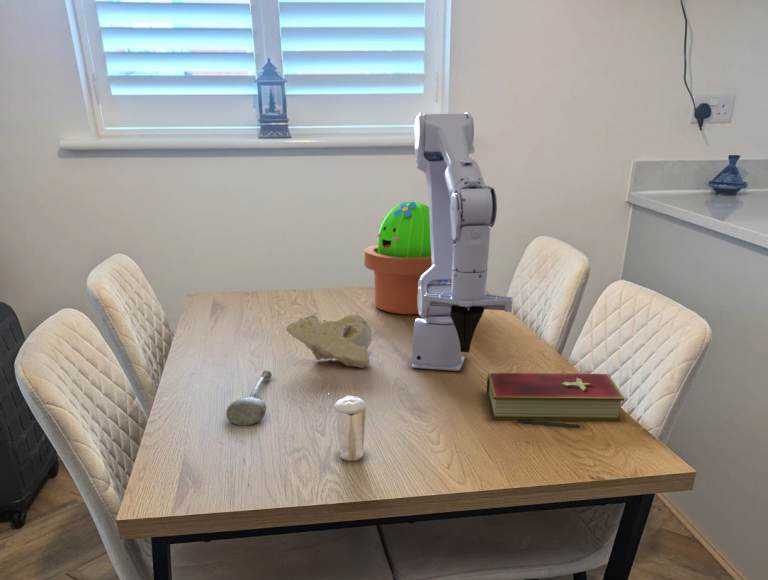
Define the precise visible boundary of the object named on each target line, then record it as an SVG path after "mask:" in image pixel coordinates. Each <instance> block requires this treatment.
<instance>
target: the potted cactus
mask: <svg viewBox="0 0 768 580" xmlns="http://www.w3.org/2000/svg"><path fill="white" fill-rule="evenodd" d="M381 221H382V222H381V224H380V226H379V229H378V233H377V235H376V236H377V244H374V245H371V246H368V247H365V249H364V250H363V257H364V262H363V263H364V267H365V268H366V269H368V270H370V271H373V274H374V275H373V277H374V281H373V283H374V284H373V285H374V305H375V307H376V308H377V309H379V310H381V311H383V312H387V313H392V314H397V315H419V313H418V305H417V295H418V281H419V279H420V277H421V275H422V274H423V273H425V272H426V271H427V270H428V269H429V268H431V267H432V261H431V240H430V218H429V205H426V204H425V203H423V202H422V203H421V202H420V201H419V200H415V201H403V202H400V204H397V205H396V206H394V207H393V208H392V209H390V210H389V212H388V213H387V214H386V215H385V216H384V218H383V216H382V218H381ZM439 284H447V283H439ZM428 285H436V284H428Z"/></svg>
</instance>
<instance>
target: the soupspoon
mask: <svg viewBox="0 0 768 580" xmlns="http://www.w3.org/2000/svg"><path fill="white" fill-rule="evenodd" d="M261 374H262V375H260V378H259V380H258V381H257V382H256V384H255V385H254V387H253V389H252V391H251V392H250V394H249V396H247V397H242V398H238V399H236V400H234V401H233V402H230V404H229V405H228V406H227V408H226V411H225V412H226V418H227V419H228V420H229V421H230V423H232V424H234V425H237V426H240V427H242V426H243V427H247V426H252V425H255V424H257V423H259V422H260V421H261V420H262V419H263V418H264V416H265V414H266V411H267V405H266V403H265V402H264V400H262V399H260V398H257V397H256V394H257V392H258V390H259V389H260V386H261V384H262V383H263V382H264V381H265V380H271V378H272V372H271V370H264V371H262V373H261Z"/></svg>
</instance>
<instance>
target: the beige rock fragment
mask: <svg viewBox="0 0 768 580" xmlns="http://www.w3.org/2000/svg"><path fill="white" fill-rule="evenodd" d="M316 315H319V313H318V312H314V313H313V314H311V315H309V316H306V317H300V318H299V319H298V320H297V321H294V322H291V323H289V324H288V325H287V326H286V327H285V330H286V332H287V333H288V334H289V335H291V337H292V338H294V339H296V340H298V341H300V342H301V343H302V344H304V345H305V346H306V348H307V349H309V350H310V351H311V352H312V355H313V357H314V358H315V360H316V361H321V360H325V361H327V360H330V359H335V360H336V361H339V362H340V363H342V364H343V365H345V366H346V367H355V368H360V369H362V368H366V367H368V366H369V364H370V354H369V352H368V349H369V348H370V346H371V343H372V341H373V337H372V335H373V333H372V326H371V325H370V324H369V322H368V321H367V320H366V319H365V318H364V317H362V315H360V314H359V313H352V314H348V315H347V316H344V317H343V318H341V319H335V320H328V319H323V320H322V321H321V320H320V318H319V317H318V316H316Z"/></svg>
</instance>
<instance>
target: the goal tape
mask: <svg viewBox="0 0 768 580" xmlns="http://www.w3.org/2000/svg"><path fill="white" fill-rule="evenodd" d="M516 423H517V424H525V425H526V424H527V425H538V426H551V427H563V428H572V429H580V428H581V425H580V424H575V423H566V422H565V423H564V422H555V421H554V422H553V421H543V420H516Z"/></svg>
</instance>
